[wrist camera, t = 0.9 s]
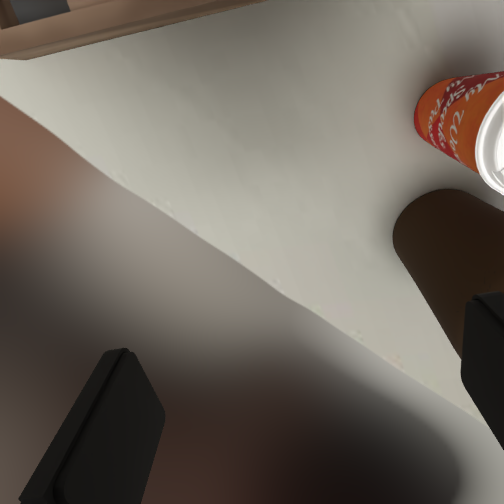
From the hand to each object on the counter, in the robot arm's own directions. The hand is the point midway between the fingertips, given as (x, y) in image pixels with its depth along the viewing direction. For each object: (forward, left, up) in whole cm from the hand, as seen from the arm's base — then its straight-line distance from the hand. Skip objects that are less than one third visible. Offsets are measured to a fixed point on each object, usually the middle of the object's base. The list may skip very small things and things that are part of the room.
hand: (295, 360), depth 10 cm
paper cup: (-1, +16, -27) cm, 31 cm away
